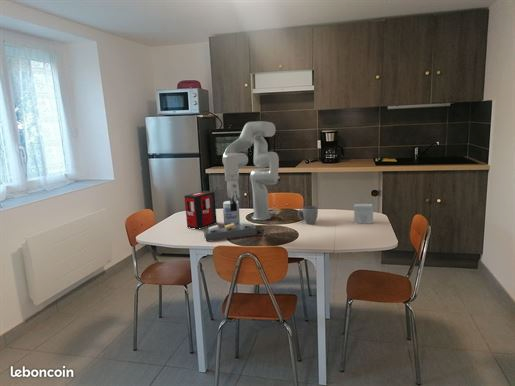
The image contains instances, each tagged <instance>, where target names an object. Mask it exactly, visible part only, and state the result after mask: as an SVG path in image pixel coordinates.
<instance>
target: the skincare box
mask: <svg viewBox="0 0 515 386" xmlns="http://www.w3.org/2000/svg"><path fill="white" fill-rule="evenodd" d="M353 209H354V210H353V213H354V214H353V215H354V218H353V219H354V220H353V221H354V224H355V223H357V224H361V223H368V225H369V223H373V224H374V206H373V203H354V205H353Z"/></svg>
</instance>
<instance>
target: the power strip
mask: <svg viewBox="0 0 515 386" xmlns="http://www.w3.org/2000/svg"><path fill="white" fill-rule="evenodd" d="M264 230H265V229H264V228H259V229H257V227H256V225H254V223H251V226H242V225H239V226H235V227H232V228H229V229H226V228H225V227H219V229H216V230H213V231H209V229H205V230H203V236H204V240H205V239H206V240H205V241H206V242H210V241H209V240H214V241H219V240H220V241H221V240H228V239H227V238H229V239H235V238H234V237H236V238H243V237H250V236H257V235H258V233H259V232H264Z"/></svg>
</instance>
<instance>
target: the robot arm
mask: <svg viewBox="0 0 515 386" xmlns="http://www.w3.org/2000/svg"><path fill="white" fill-rule="evenodd" d="M275 134H276V125H275V124H274V123H273V122H272V121H271V122H270V121H264V120H263V121H248V122H246V123H245V124H244V126H243V128H242V130H241V132H240V135H239V137H238V138H237V139H236V140H234V141H233V142H232V143H230V144H229V145H228V146H227V147H226V148H225V150H224V152H223V155H222V159H221V160H222V161H221V162H222V165H223V167H224V181H225V182H226V191H227V197H228V198H229V201H230V208H231V211H237V202H236V201H237V199H241V195H240V186H239V180H240V174H239V173H240V172H239V167H240V168H241V167H243V168H244V167H245V166H247V164H248V163H249V157H248V155H247V154H246V153H242V151H245V150H248V149H250V147H252V146H253V165H254V166H255V167H258V168H257V169H256V168H255V169H252V171H250V175H249V177H250V179H249V180H250V182H251V189H252V204H253V215H252V216H251V219H252V220H253V221H268V220H271V218H272V215H276V214H277V211H276V210H274V211H273V210H269V195H268V193H269V192H268V189H267V187H266V185H275V184H277V183H278V179H279V167H280V166H279V165H280V164H279V161H280V158H279V155H278V153H277V152H276V151H275V152H274V151H268V149H269V148H268V142H267V140H266V139H265V138H266V137H268V138H269V137H273V136H275ZM268 168H269V169H268ZM267 219H268V220H267Z"/></svg>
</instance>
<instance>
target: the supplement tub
mask: <svg viewBox="0 0 515 386" xmlns="http://www.w3.org/2000/svg"><path fill="white" fill-rule="evenodd" d="M236 202H237V211H231V208H230V200H225V201H223V203H222V208H223V209H222V210H223V225H224V227H225V225H228V224H231V223H234V224H235V226H241V221H240V220H241V219H240V205H239V204H240V203H239V200H236Z"/></svg>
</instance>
